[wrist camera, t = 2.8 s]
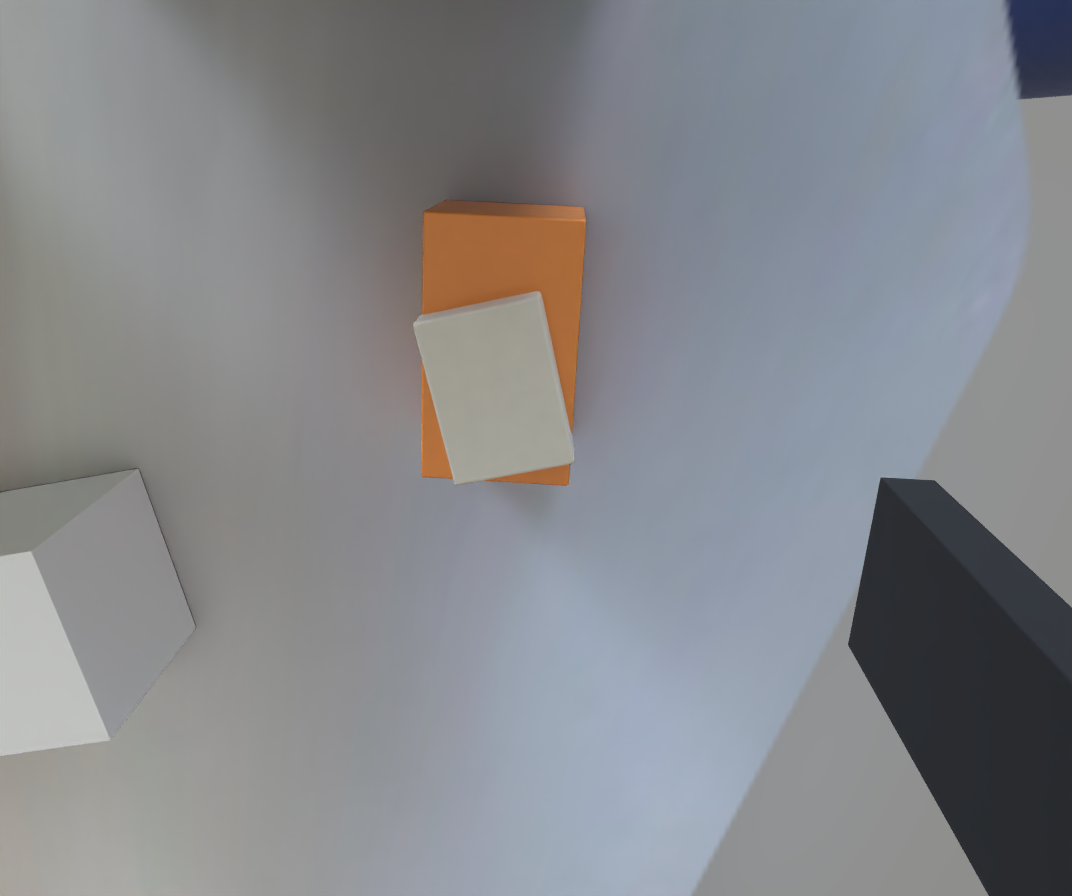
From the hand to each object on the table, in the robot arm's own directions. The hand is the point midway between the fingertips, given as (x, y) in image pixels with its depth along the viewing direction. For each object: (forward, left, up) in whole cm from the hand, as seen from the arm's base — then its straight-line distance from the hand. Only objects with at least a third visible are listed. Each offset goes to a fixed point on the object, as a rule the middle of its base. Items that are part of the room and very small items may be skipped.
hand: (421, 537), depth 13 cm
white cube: (+14, +9, -15) cm, 22 cm away
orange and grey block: (0, 0, -14) cm, 14 cm away
